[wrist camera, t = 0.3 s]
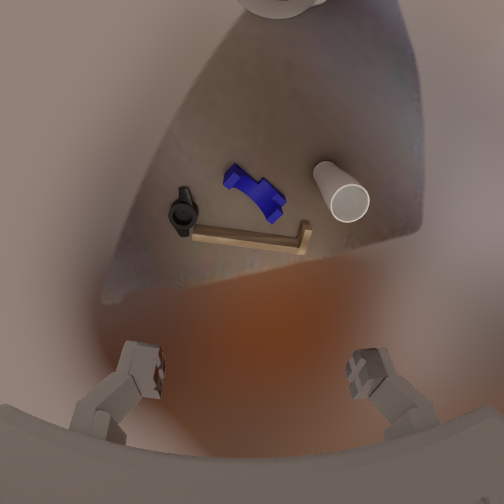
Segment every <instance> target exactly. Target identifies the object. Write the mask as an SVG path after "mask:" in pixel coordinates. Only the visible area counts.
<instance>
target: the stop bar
mask: <svg viewBox="0 0 504 504" xmlns="http://www.w3.org/2000/svg"><path fill="white" fill-rule="evenodd" d="M311 233H312V228H311V226H310V224H309V222H308V221H304V220H302V221H301V224H300V228H299V231H298V234H297V238H292V237H285V236H278V235H271V234H264V233H257V232H250V231H242V230H235V229H227V228H220V227H212V226H204V225H196V224H195V228H194V231H193V237H192V240H194V241H201V242H209V243H217V244H225V245H232V246H240V247H248V248H256V249H263V250H271V251H279V252H286V253H294V254H301V255H305V252H306V249H307V246H308V243H309V240H310V237H311Z"/></svg>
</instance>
